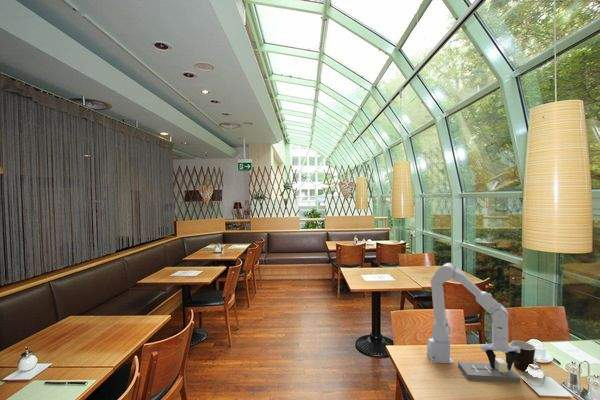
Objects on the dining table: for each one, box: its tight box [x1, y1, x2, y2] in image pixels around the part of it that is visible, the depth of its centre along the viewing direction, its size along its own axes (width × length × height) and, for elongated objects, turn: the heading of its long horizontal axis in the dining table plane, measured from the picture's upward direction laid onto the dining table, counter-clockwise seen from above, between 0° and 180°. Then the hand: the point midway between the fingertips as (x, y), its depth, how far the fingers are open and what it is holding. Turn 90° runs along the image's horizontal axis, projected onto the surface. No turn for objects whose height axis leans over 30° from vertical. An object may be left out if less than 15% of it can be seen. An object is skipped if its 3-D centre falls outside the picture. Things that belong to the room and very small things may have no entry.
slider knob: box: [495, 357, 507, 373], centre depth 127 cm, size 3×4×4 cm
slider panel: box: [457, 361, 522, 384], centre depth 128 cm, size 20×10×2 cm, turn 83°
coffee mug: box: [510, 340, 536, 373], centre depth 133 cm, size 12×9×10 cm
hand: (500, 368), depth 127 cm, fingers open, 6 cm apart
